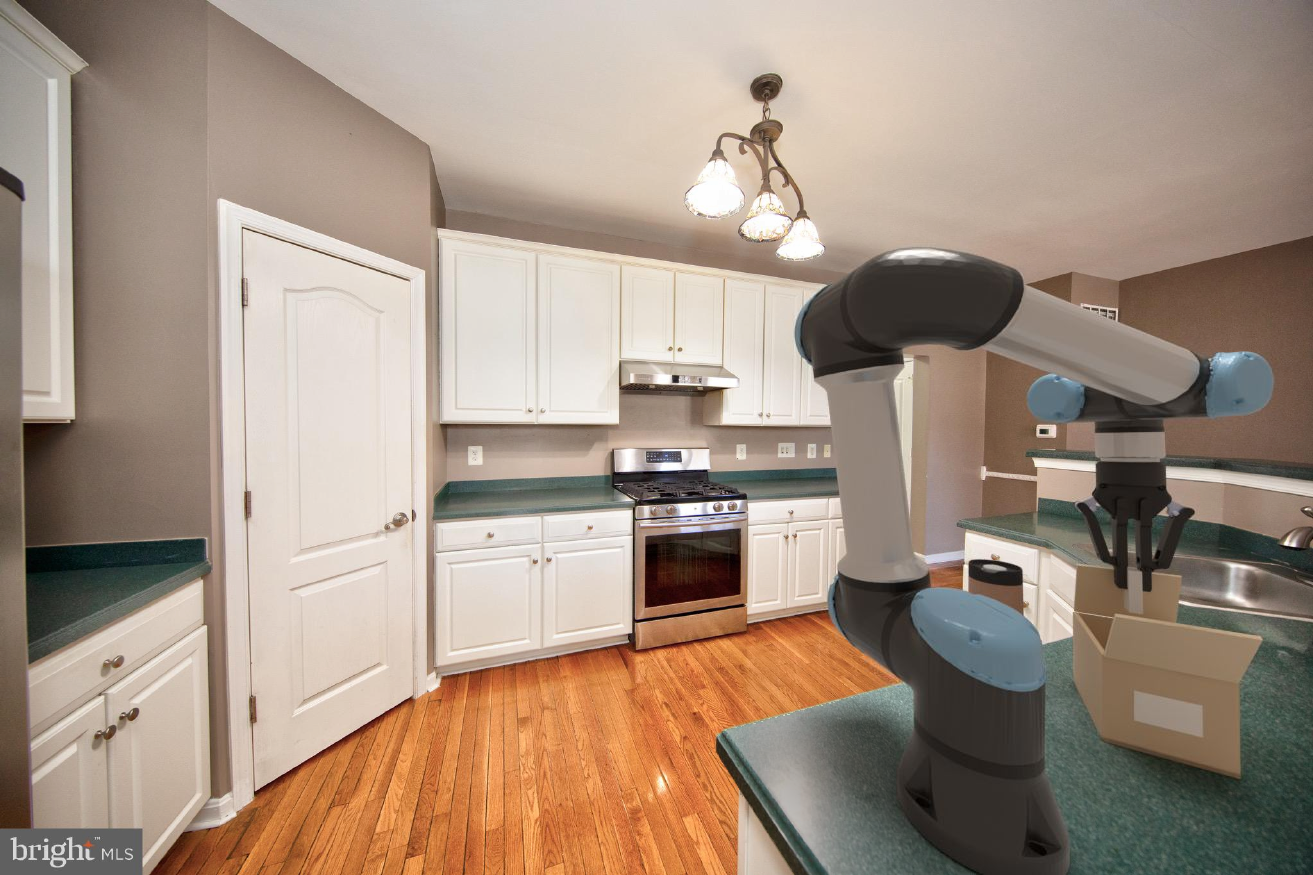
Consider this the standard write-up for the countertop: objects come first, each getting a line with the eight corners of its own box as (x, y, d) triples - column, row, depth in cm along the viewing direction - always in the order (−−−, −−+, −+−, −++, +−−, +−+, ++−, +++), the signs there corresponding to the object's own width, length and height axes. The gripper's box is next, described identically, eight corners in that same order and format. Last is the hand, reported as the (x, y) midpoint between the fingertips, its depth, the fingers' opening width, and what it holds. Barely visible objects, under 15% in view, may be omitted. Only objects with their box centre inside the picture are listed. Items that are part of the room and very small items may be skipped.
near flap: (1236, 679, 53) (1238, 683, 53) (1103, 653, 60) (1104, 657, 60) (1260, 636, 49) (1262, 640, 49) (1114, 613, 56) (1115, 616, 55)
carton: (1241, 779, 53) (1239, 681, 53) (1103, 741, 60) (1102, 654, 60) (1178, 705, 68) (1177, 628, 68) (1073, 681, 75) (1072, 611, 75)
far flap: (1074, 611, 75) (1073, 609, 75) (1175, 627, 68) (1174, 625, 69) (1077, 565, 73) (1076, 563, 73) (1182, 577, 66) (1180, 575, 66)
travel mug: (1004, 669, 79) (1003, 559, 79) (1036, 694, 71) (1035, 572, 71) (959, 667, 79) (958, 558, 80) (986, 691, 72) (985, 570, 72)
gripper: (1181, 459, 68) (1186, 611, 67) (1067, 458, 75) (1071, 595, 75) (1203, 461, 62) (1209, 628, 61) (1077, 460, 69) (1081, 609, 69)
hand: (1133, 610), depth 68 cm, fingers closed
